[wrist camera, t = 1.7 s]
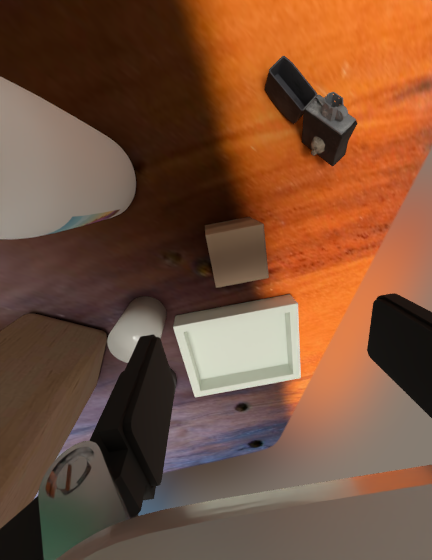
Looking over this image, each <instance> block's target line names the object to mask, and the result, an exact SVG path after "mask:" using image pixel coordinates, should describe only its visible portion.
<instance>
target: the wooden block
mask: <svg viewBox="0 0 432 560" xmlns="http://www.w3.org/2000/svg"><path fill="white" fill-rule="evenodd" d="M106 342H107V335H106V333H105V332H104V331H102V330H98V329H94V328H90V327H86V326H82V325H78V324H74V323H70V322H66V321H62V320H58V319H54V318H50V317H46V316H42V315H38V314H26V315H23V316H22V317H20V318H19V319H17V320H16V321H14V322H13V323H12V324H10V325H9V326H7V327H6V328H4V329H3V330H1V331H0V529H1V528H2V527H3V526H4V525H5V524H6V523H8V522H9V521H10V520H11V519H12V518H13V517H14V516H16V515H17V514H18V513H19V512H20V511H21V510H23V509H24V508H25V507H26V506H27V505H28V504H30V503H31V502H32V501H33V499H34V497H35V496H36V494H37V492H38V490H39V487H40V484H41V481H42V479H43V477H44V475H45V473H46V472H47V470H48V469H49V467H50V466H51V465H52V464H53V462H54V461H55V459H56V458H57V456H58V454H59V452H60V450H61V449H62V447H63V445H64V443H65V441H66V439H67V438H68V436H69V434H70V432H71V430H72V429H73V427H74V425H75V423H76V421H77V420H78V418H79V416H80V414H81V412H82V410H83V409H84V407H85V405H86V403H87V401H88V400H89V398H90V396H91V394H92V392H93V391H94V389H95V387H96V385H97V381H98V377H99V373H100V368H101V364H102V359H103V355H104V351H105V346H106Z"/></svg>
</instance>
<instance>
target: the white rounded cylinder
mask: <svg viewBox="0 0 432 560" xmlns="http://www.w3.org/2000/svg"><path fill="white" fill-rule="evenodd" d="M166 317H167V312H166V309H165V307H164V305H163V304H162V303H161V302H160V301H158V300H157V299H155V298H152V297H147V296H143V297H138V298H136V299H134V300H133V301H131V302H130V304H129V305H128V307H127V308H126V310H125V311H124V313H123V314H122V316H121V317H120V319H119V320H118V322H117V323H116V325H115V326H114V328H113V329H112V331H111V332H110V334H109V336H108V340H107V344H108V348H109V350H110V352H111V353H112V354H113V355H114V356H115V357H116V358H118V359H119V360H121V361H124V362H127V363H128V362H129V360H130V358H131V356H132V353H133V351H134V349H135V347H136V344H137V342H138V340H139V338H140V337H141V336H147V335H152V334H154V335H155V336H156V337H159V338H161V335H162V331H163V328H164V324H165V321H166Z"/></svg>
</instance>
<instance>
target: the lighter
mask: <svg viewBox="0 0 432 560" xmlns="http://www.w3.org/2000/svg"><path fill="white" fill-rule="evenodd" d="M265 91H266V93H267V94H268V96H269V98H270V99H271V101H272V102H273V103H274V104H275V106H276V107H277V108H278V109H279V111H280V112H281V113H282V114H283V115H284V116H285V117H286V118H287V119H288V120H289V121H290V122H292V123H293V124H295V123H296V122H297V121H298V120H299V119H300V117H301V116H302V115H303V131H302V143H303V144H305V145H306V146H307V147H308V148H310V149H311V150H312V152H311V154H312V155H316V154H317V155H319V156H320V157H321V158H322V159H324V160H325V161H326V162H327V163H329V164H330V165H331V166H334V165H335V164H336V163H337V162H338V161H339V160H340V159H341V158H342V157H343V156H344V155H345V153H346V148H347V144H348V140H349V138H350V136H351V134H352V132H353V131H354V129H355V127H356V125H357V121H356V119H355V118H353V117H352V116H350V115H349V114H348V111H347V109H346V107H345V106H344V105H343V98H342V97H341V96H339V95H338V94H336V93H335V92H331V93H329V94H328V95H327V96H326V97H327V98H326V97H325V98H323V97H322V96H320V95H317V93H316V91H315V90H314V89H313V88H312V87H311V85H310V84H309V83H308V82H307V80H306V79H305V78H304V77H303V75H302V74H301V73H300V72H299V70H298V69H297V68H296V67H295V65H294V64H293V63H292V62H291V61H290V60H289V59H287V58H286V57H285V56H282V57H281V58H280V59H279V60H278V61H277V62H276V63H275V64H274V65H273V66H272V67H271V68H270V70H269V73H268V77H267V81H266V85H265ZM333 94H334V95H333ZM338 97H339V98H340V99H339V98H338ZM334 100H335V101H336V102H334Z"/></svg>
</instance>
